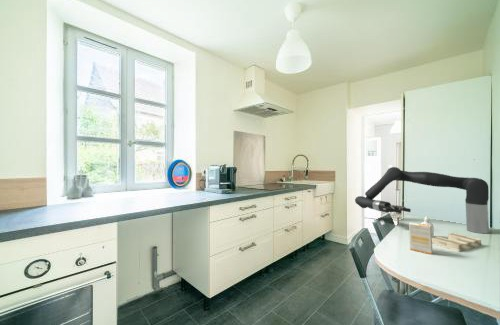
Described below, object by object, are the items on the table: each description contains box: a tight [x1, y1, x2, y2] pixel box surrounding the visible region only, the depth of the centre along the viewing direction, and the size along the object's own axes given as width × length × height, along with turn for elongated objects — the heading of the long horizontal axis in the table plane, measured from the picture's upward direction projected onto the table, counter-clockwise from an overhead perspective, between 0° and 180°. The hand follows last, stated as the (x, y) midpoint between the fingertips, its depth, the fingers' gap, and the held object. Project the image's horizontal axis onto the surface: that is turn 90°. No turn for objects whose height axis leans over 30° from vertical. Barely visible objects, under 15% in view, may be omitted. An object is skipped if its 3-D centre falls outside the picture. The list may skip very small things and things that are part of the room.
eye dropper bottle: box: [420, 215, 435, 238], centre depth 118 cm, size 4×6×12 cm
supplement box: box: [408, 221, 433, 255], centre depth 99 cm, size 8×5×13 cm, turn 43°
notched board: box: [432, 232, 482, 253], centre depth 106 cm, size 20×11×3 cm, turn 110°
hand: (405, 211), depth 129 cm, fingers open, 8 cm apart
